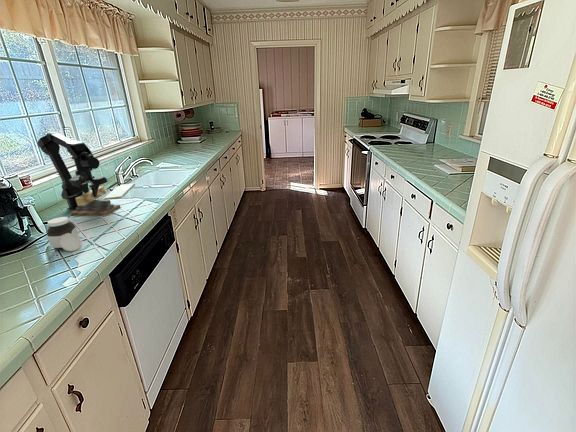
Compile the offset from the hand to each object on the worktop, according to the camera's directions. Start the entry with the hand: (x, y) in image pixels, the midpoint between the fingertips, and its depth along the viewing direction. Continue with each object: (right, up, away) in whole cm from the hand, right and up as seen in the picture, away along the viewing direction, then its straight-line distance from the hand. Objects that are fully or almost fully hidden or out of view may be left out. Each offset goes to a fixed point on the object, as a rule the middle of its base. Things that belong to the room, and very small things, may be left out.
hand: (91, 197), depth 165 cm
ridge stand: (0, -7, +3) cm, 8 cm away
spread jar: (+15, -23, -38) cm, 46 cm away
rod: (0, -1, 0) cm, 1 cm away
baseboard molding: (-6, +5, +38) cm, 39 cm away
